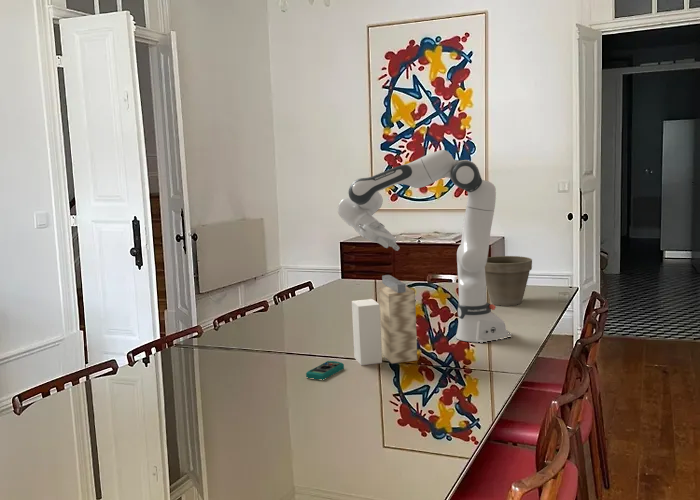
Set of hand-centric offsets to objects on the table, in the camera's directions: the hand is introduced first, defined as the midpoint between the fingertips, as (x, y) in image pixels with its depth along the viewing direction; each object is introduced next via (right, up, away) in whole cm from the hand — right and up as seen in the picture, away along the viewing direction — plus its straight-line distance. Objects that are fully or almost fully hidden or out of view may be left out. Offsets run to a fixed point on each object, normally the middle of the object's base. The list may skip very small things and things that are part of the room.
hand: (392, 247), depth 273 cm
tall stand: (+2, -41, -10) cm, 42 cm away
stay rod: (0, -15, -10) cm, 18 cm away
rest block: (-10, -42, -12) cm, 45 cm away
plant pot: (+60, -27, +69) cm, 95 cm away
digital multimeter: (-25, -45, -24) cm, 58 cm away
